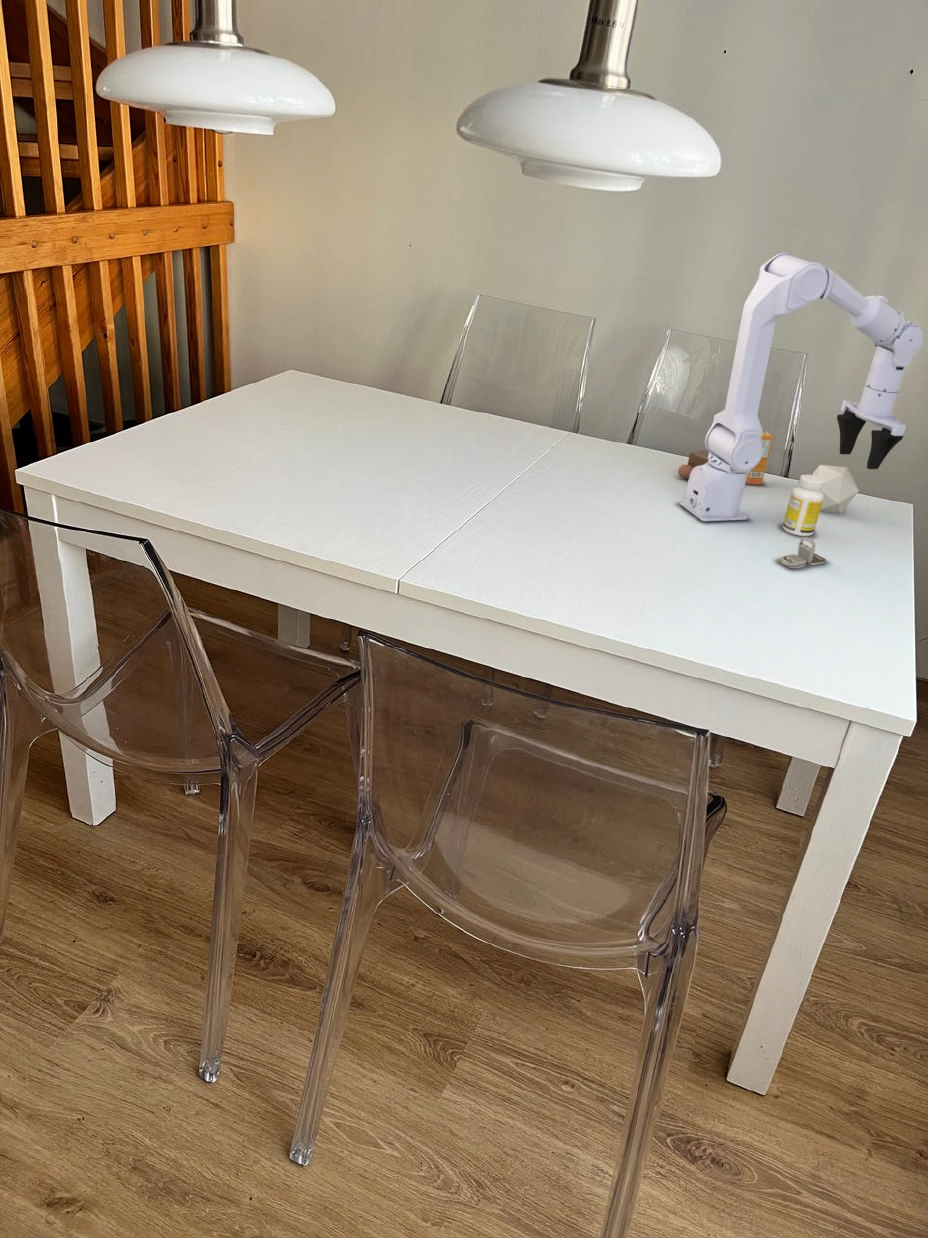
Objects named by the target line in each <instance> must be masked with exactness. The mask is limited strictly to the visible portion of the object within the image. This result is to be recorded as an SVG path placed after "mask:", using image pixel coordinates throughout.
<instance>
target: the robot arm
mask: <svg viewBox="0 0 928 1238" xmlns="http://www.w3.org/2000/svg"><path fill="white" fill-rule="evenodd" d="M757 277H758V278H757V281H756V282H755V285H754V286H753V288H752V289H751V291H750V293H749V295H748V297H747V298H746V300H745V302H744V305H743V308H742V314H741V319H740V325H739V329H738V336H737V339H736V340H737V341H736V346H735V353H734V356H733V363H732V369H731V374H730V379H729V383H728V390H727V395H726V400H725V407H724V409H723V410H722V411H720V412H717V413H716V414H715V415H714V416H713V421H712V424H711V426H710V428H709V429H708V431H707V433H706V435H705V438H704V444H705V448H706V450H708V451H709V454H708V459H709V460H708V462H707V463H706V464H704V465H701V466H696V467H695V468H694V469H693V470H692V471H691V473H690V476H689V479H688V480H687V484H686V489H685V493H684V494H685V495H684V497H683V501H681V502H680V506H682V507H683V508H684V509H686V510H687V511H689V512H690V513H691V514H692V515H693V516H695V517H696V518H697V519H699V520H700V521H702V522H724V521H747V520H748V516H747V515H746V514H744V513H742V512H741V511H740V506H741V502H742V499H743V495H744V491H745V488H746V487H745V486H746V485H747V484H746V480H747V476H748V473H750V472H751V469H753V468H754V467H755V466H756V465H757V464H758V463H759V462H760V460H761V458H762V455H763V445H762V442H761V437H762V432H763V427H762V425H761V422H760V419H759V417H758V416H759V414H758V413H759V410H760V409H759V408H760V405H761V398H762V395H763V389H764V385H765V384H764V383H765V378H766V373H767V369H768V365H769V360H770V359H769V358H770V353H771V349H772V345H773V338H774V333H775V330H776V329H775V328H776V324H777V322H778V320H780V319H781V318H783V317H784V316H785V315H787V314H789V313H792V312H794V311H796V310H799V309H801V308H803V307H806V306H808V305H810V304H813V303H814V302H817V300H819V299H820V300H826V299H827V301H830V302H831V303H833V304H834V305H836V306H838V308H841V309H842V310H844V312H846V313H848V314H849V323H850V324H851V326H852V327H854V328H855V329H856V330H857V331H859V332H860V333H861V334H863V335H865V336H866V337H867V338H868V339H870V340H872V343H873V346H874V347H876V348H875V352H874V355H873V359H872V361H871V365H870V368H869V371H868V374H867V378H866V380H865V384H864V387H863V391H862V394H861V397H860V400H859V402H857V401H854V400H852V399H850V400H848V399H844V400H842V404H841V407H840V411H841V412H843V413H841V414H839V413H838V414H837V416H836V420H837V425H838V428H839V429H838V430H839V454H840V455H851V454H852V452H853V450H854V447H855V445H856V442H857V439H858V437H859V434H860V433H861V431H862V430H863V428H864V426H865V425H866V424H867V423H870V424H871V425H874V426H876V427H877V428H879V429H872V430H871V432H870V433H871V434H870V435H871V444H870V451H869V455H868V457H867V458H868V459H867V462H866V468H867V469H868V470H878V469H879V468H880V466H881V465H882V464H883V462H884V460H885V458H886V457H887V456H888V454H889V453H890V452H891V451H892V450H893V449H894V447H895V446H896V445H898V444H899V443H900V442H901V441H902V440H903V438H904V434H905V431H906V428H907V425H906V424H905V423H902V421H900V420H899V419H897V418H896V417H894V416H895V414H894V413H893V410H894V406H895V404H896V401H897V398H898V394H899V392H900V389H901V385H902V384H903V380H904V377H905V375H906V374H905V373H906V371H907V368H908V367H909V365H911V364H912V360H913V357H914V356H915V355H916V354H917V353H918V352H919V351H920V350H921V348H922V346H923V344H924V342H925V340H924V339H923V331H922V328H921V326H920V324H918V323H917V322H914V321H911V320H908V319H906V318H905V312H903V311H901V310H898V309H897V310H895V309H894V308H893V307H891V306H890V305H889V304H887V303H888V302H889V299H888V298H886V297H885V296H883V295H880V294H879V295H867V296H863V295H862V294H861V293H860V292H858V291H857V290H856V288H854V287H853V286H852V285H850V284H849V283H848V282H847V281H846V280H844V279H843V278H842V277H841V276H840V275H839V274H837V272H835V271H834V270H832V269H830V268H827V267H825V266H824V265H822V264H821V263H819V262H813V261H809V260H805V259H802V258H799V257H796V256H794V255H792V254H790V253H787V252H782V253H778V254H775V255H774V256H772V257H771V258H770V259H768V260H767V261H765V262H764V263H763V264H762V265H761V266H759V273H758V276H757ZM880 429H881V430H880Z"/></svg>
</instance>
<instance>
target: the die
mask: <svg viewBox="0 0 928 1238" xmlns="http://www.w3.org/2000/svg"><path fill="white" fill-rule="evenodd" d="M811 475H814V476H817V477H820V478H822V479H823V480H824V484H823V488H822V489H821V490H820V491H821V492H822V493H823V495H824V498H823V502H822V506H821V509H820V512H826V513H834V514H835V513H836V514H842V512H843V511H844V510H845V509H846V507H847V506H848V505H849V504H850V503H851V501H852V500H853V499H854V498H855V497H856V496H857V494H858V493H859V492H860V490H859V489H858V486H857V484H856V482H855V480H854V478H853V476H852V474H851V472H850V470H849V468H848V467H847V466H840V465H839V466H837V465H830V464H829V465H828V464H819V465H818V467H817V468H816V469H815V470H814V471H813V473H812V474H811Z"/></svg>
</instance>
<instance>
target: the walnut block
mask: <svg viewBox="0 0 928 1238" xmlns="http://www.w3.org/2000/svg"><path fill="white" fill-rule="evenodd" d="M708 454H709V451H708V450H707V449H702V450H697V451H692V452H689V456H688V460H687V465H690V466H692V467H693V468H695V467H696V466H701V465H704V464H706V463H707V462H708V460H709V459H708Z"/></svg>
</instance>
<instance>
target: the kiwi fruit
mask: <svg viewBox="0 0 928 1238" xmlns="http://www.w3.org/2000/svg"><path fill="white" fill-rule="evenodd" d="M693 469H694V468H693V467H692V466H690V465H688V464H682V465H680V466H679V467H678V470H677V472H678V473H677V474H678V475H679V477H681V478H683V479H685V480H689V476H690V473H691V471H692V470H693Z"/></svg>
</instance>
